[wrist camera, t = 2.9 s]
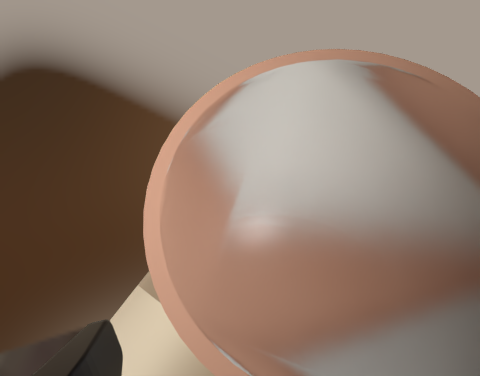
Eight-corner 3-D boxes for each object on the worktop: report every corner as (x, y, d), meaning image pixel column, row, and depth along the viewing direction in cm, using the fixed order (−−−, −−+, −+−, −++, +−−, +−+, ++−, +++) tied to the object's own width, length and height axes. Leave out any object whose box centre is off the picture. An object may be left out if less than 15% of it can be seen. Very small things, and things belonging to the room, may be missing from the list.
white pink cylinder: (375, 304, 15) (620, 146, 5) (313, 415, 14) (462, 580, 3) (275, 240, 17) (280, 7, 6) (210, 335, 15) (60, 250, 4)
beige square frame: (458, 290, 16) (504, 270, 13) (340, 541, 13) (362, 597, 9) (260, 174, 19) (257, 135, 16) (124, 352, 16) (88, 348, 13)
